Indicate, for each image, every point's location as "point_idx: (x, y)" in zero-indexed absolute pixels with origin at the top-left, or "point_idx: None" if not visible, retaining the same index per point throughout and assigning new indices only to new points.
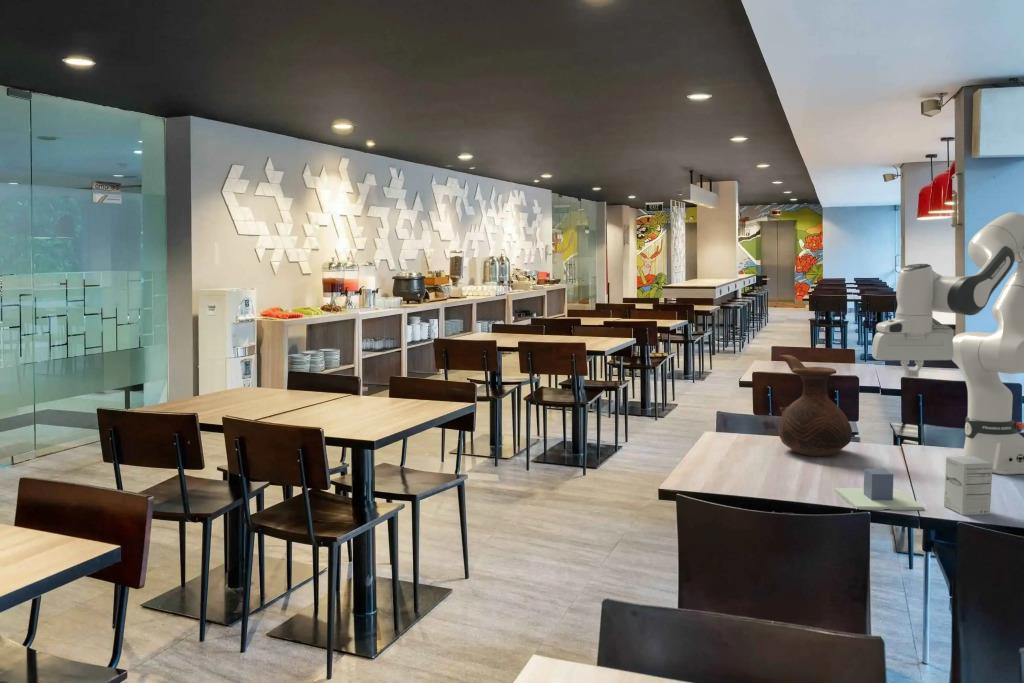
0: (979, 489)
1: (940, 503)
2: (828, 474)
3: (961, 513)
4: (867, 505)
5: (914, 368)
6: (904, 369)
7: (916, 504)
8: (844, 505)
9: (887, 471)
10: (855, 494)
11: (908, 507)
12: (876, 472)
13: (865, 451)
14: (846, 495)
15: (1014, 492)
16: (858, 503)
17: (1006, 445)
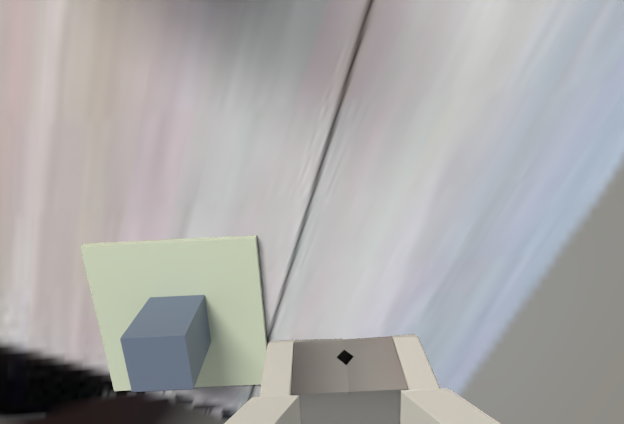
0: None
1: (329, 328)
2: (87, 48)
3: None
4: None
5: (417, 417)
6: (249, 411)
7: (257, 369)
8: (94, 358)
9: (183, 362)
10: (127, 302)
11: (233, 384)
12: (148, 374)
13: None
14: (103, 312)
15: (576, 223)
16: (122, 371)
17: None
